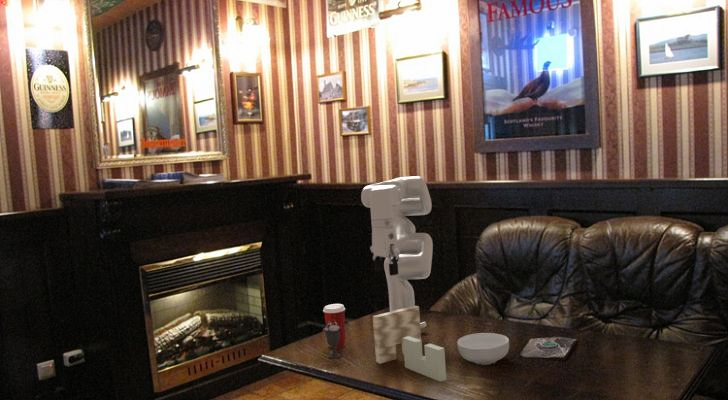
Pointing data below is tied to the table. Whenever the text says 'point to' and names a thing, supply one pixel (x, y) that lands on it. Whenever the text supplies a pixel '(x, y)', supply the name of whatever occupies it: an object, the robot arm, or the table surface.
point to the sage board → (424, 358)
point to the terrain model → (549, 348)
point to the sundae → (333, 337)
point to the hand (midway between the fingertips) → (386, 273)
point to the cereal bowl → (483, 347)
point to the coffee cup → (336, 319)
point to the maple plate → (394, 331)
